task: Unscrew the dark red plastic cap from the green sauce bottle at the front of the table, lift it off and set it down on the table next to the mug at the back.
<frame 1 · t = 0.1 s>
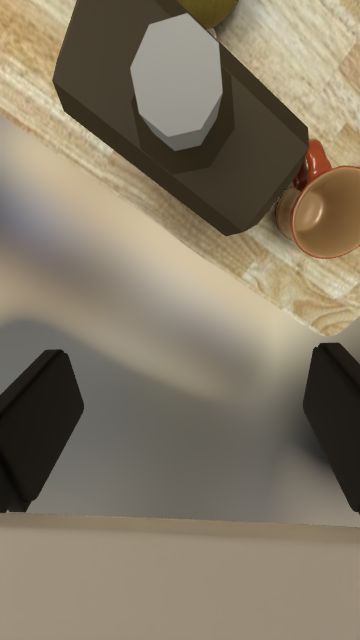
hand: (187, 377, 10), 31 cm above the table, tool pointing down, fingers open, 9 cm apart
apple: (203, 0, 27), on the table, touching fidget spinner
mug: (295, 199, 34), on the table
bottle: (191, 159, 33), on the table
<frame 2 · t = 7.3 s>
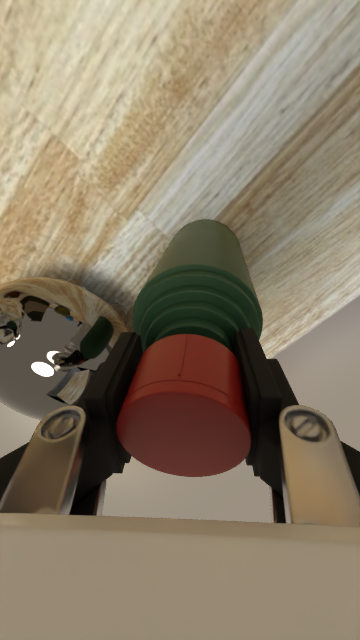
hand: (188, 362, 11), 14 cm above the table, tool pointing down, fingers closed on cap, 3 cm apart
cap: (183, 428, 7), point 18 cm above the table, turned 99° so far, risen 0.1 cm, still on its thread, touching gripper
sauce bottle: (204, 257, 23), on the table, touching gripper
piggy bank: (86, 313, 27), on the table
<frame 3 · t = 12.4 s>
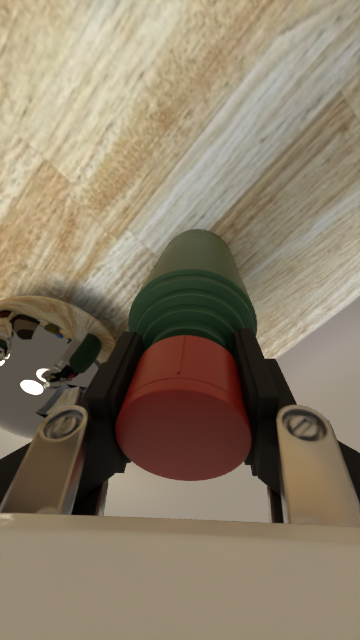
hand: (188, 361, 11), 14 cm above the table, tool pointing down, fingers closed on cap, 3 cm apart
cap: (183, 429, 7), point 18 cm above the table, turned 99° so far, risen 0.1 cm, still on its thread, touching gripper
sauce bottle: (196, 265, 23), on the table
piggy bank: (76, 329, 27), on the table
when the fingers open (2 cm above the table, at t = 30.8 s): cap drops 3 cm, point 2 cm above the table.
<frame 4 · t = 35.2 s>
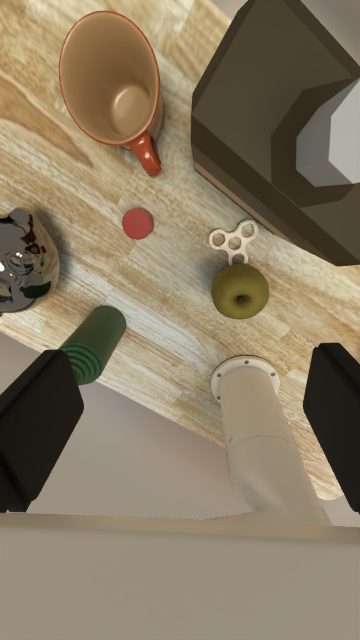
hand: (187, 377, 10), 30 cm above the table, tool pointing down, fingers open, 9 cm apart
fidget spinner: (230, 241, 36), on the table, touching apple
apple: (235, 280, 39), on the table, touching fidget spinner
cap: (137, 224, 34), point 2 cm above the table, off its thread
mug: (143, 131, 31), on the table
sauce bottle: (108, 322, 44), on the table
bottle: (254, 175, 33), on the table
piggy bank: (39, 254, 39), on the table
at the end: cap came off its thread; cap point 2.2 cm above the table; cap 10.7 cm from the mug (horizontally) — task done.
